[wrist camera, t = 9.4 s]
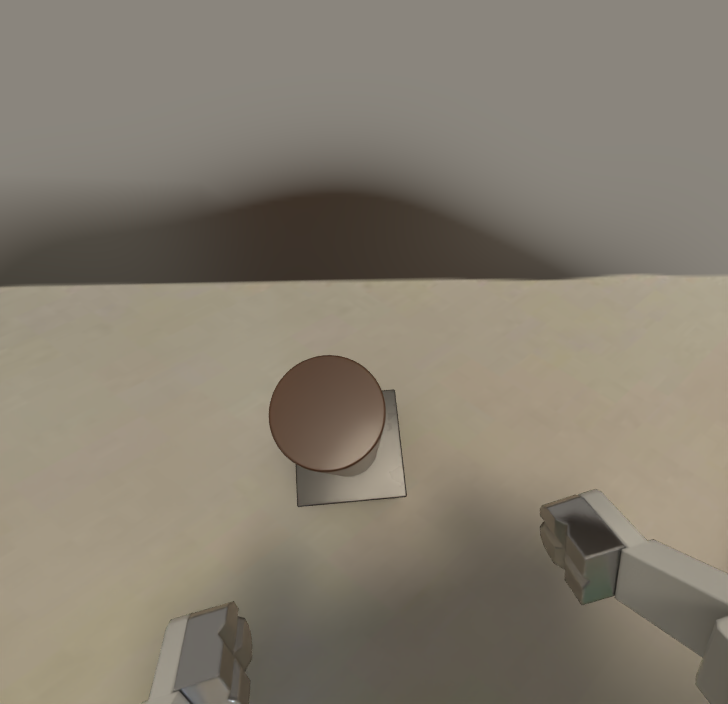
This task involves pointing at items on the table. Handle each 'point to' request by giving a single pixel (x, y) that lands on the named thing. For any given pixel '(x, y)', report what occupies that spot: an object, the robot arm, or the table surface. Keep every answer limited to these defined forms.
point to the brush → (338, 432)
